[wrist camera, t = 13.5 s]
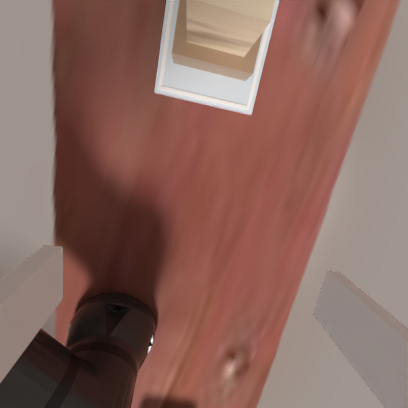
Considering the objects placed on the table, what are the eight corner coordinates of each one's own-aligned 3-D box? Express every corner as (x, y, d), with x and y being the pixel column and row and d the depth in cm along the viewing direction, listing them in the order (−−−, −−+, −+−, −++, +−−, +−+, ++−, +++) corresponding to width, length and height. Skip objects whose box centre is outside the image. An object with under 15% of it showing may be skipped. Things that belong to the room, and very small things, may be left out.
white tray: (249, 115, 34) (259, 111, 29) (155, 93, 32) (149, 85, 28) (285, -33, 29) (304, -65, 25) (176, -68, 28) (174, -110, 23)
